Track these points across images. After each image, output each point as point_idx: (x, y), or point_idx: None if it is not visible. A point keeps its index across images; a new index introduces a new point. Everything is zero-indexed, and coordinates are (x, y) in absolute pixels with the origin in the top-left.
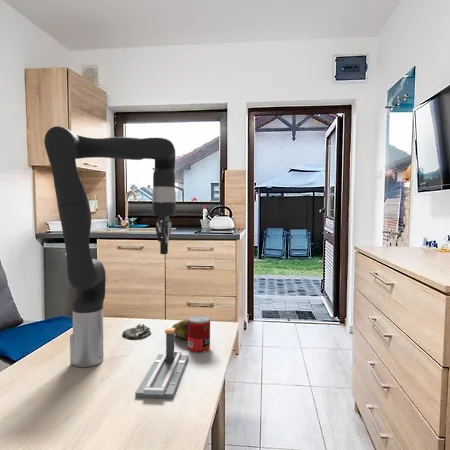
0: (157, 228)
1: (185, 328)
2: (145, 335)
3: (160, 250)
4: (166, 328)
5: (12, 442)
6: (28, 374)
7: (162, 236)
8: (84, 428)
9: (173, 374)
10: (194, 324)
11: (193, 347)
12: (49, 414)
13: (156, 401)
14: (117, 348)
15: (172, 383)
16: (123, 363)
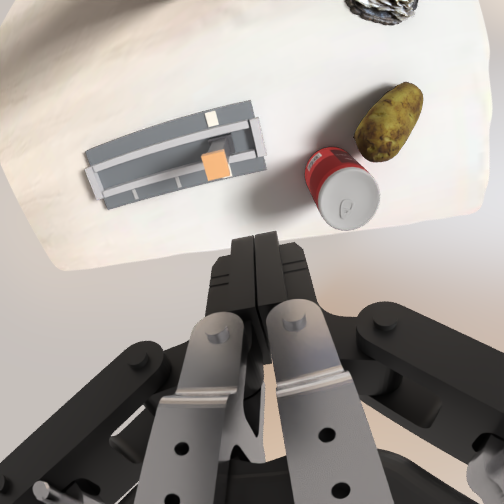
0: (5, 487)
1: (359, 142)
2: (371, 16)
3: (232, 255)
4: (216, 153)
5: None
6: None
7: (310, 379)
8: (14, 138)
9: (166, 179)
10: (317, 194)
11: (306, 169)
12: (16, 70)
13: None
14: None
15: (133, 194)
16: (196, 39)
